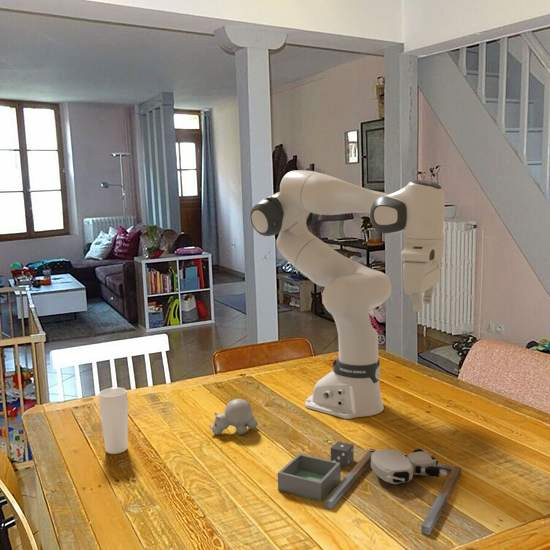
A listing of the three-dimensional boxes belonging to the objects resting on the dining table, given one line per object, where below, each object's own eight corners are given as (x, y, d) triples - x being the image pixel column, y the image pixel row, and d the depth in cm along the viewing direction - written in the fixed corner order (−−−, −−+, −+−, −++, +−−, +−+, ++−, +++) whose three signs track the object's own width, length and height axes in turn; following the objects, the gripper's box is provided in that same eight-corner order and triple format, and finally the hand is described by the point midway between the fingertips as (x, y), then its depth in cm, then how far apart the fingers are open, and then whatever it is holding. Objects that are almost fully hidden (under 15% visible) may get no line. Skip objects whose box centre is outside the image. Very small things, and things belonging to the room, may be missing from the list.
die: (330, 464, 138) (330, 447, 137) (337, 457, 141) (337, 441, 141) (347, 468, 136) (347, 451, 135) (353, 460, 139) (353, 444, 139)
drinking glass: (136, 446, 150) (132, 388, 147) (120, 457, 143) (116, 398, 141) (112, 442, 152) (108, 386, 150) (96, 454, 146) (92, 395, 143)
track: (324, 507, 120) (324, 500, 119) (372, 452, 143) (372, 446, 143) (429, 535, 109) (429, 527, 109) (462, 471, 133) (462, 464, 133)
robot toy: (424, 460, 139) (362, 465, 136) (425, 441, 138) (363, 446, 135) (449, 487, 127) (383, 494, 124) (451, 468, 126) (384, 474, 123)
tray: (278, 490, 127) (277, 472, 126) (299, 470, 135) (299, 453, 134) (321, 501, 122) (320, 483, 121) (340, 480, 130) (340, 462, 130)
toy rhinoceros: (216, 437, 160) (202, 410, 158) (256, 417, 161) (243, 390, 159) (218, 449, 153) (204, 420, 151) (260, 427, 154) (247, 399, 152)
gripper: (422, 244, 152) (420, 298, 154) (398, 254, 134) (397, 314, 137) (447, 245, 149) (445, 300, 151) (426, 255, 131) (425, 317, 134)
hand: (422, 307), depth 144 cm, fingers open, 8 cm apart
